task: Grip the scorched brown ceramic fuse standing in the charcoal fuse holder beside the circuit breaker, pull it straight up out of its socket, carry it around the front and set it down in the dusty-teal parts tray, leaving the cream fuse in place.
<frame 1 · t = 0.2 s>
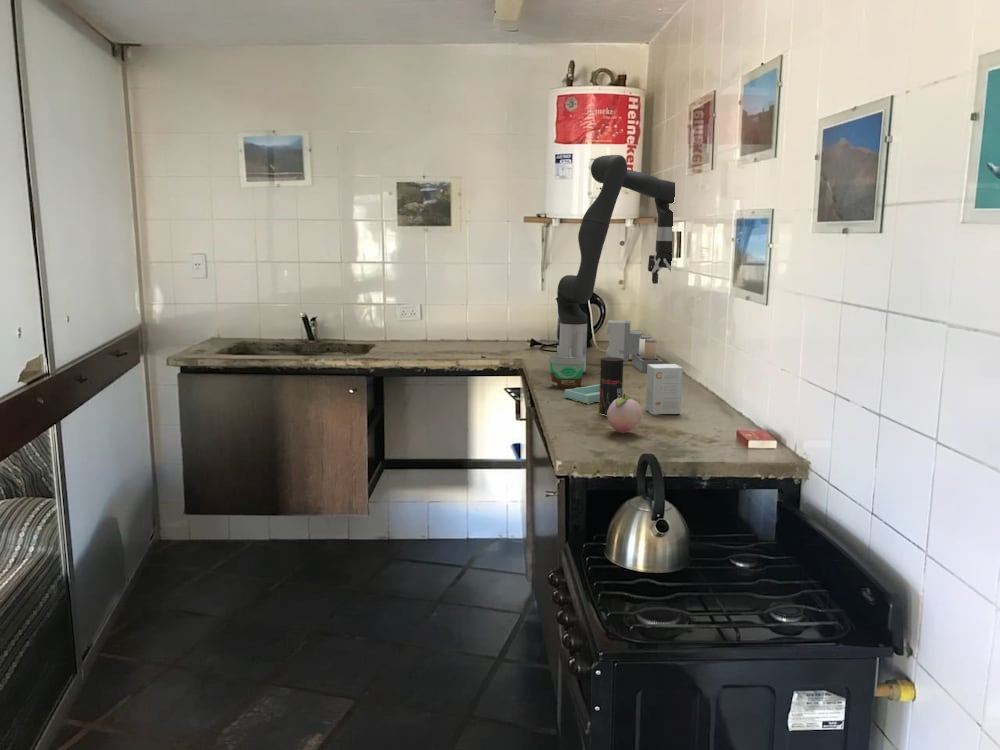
hand: (664, 284, 295), 29 cm above the counter, tool pointing down, fingers open, 8 cm apart
fuse holder: (646, 371, 279), on the counter
food container: (569, 388, 250), on the counter
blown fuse: (649, 370, 275), point 1 cm above the counter, touching fuse holder
decorative fruit: (623, 434, 195), on the counter
deodorant: (610, 414, 215), on the counter
small box: (662, 413, 217), on the counter
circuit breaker: (625, 362, 298), on the counter
parts tray: (593, 398, 234), on the counter
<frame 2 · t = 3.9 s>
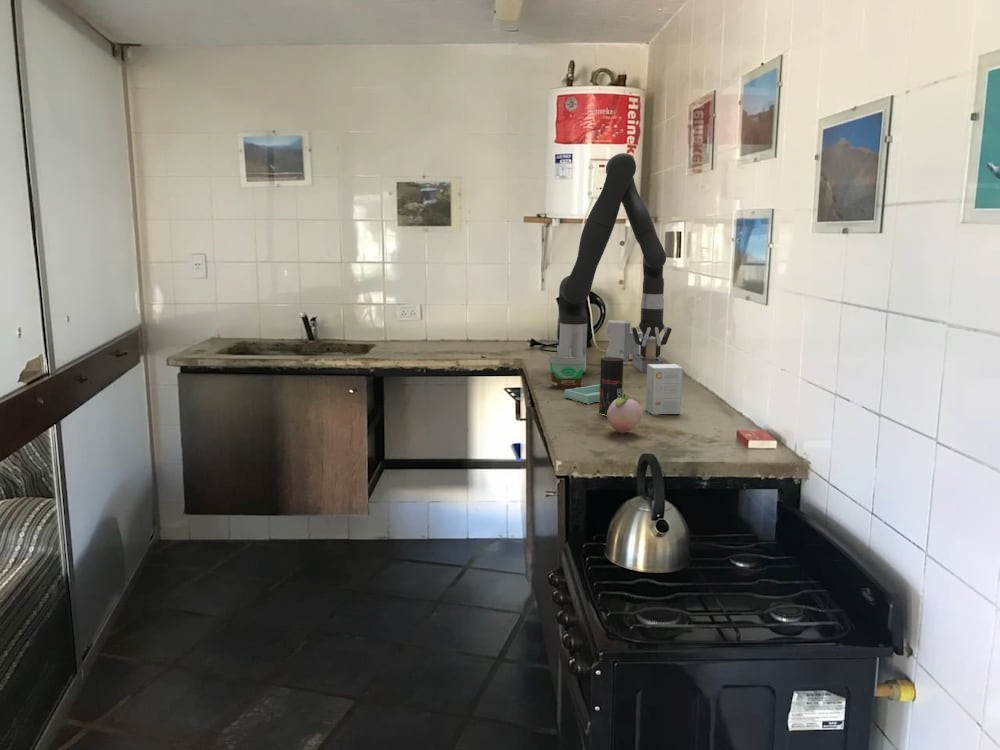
hand: (650, 356, 274), 6 cm above the counter, tool pointing down, fingers closed on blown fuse, 4 cm apart
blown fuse: (649, 370, 275), point 1 cm above the counter, touching fuse holder, gripper
everything else where it was.
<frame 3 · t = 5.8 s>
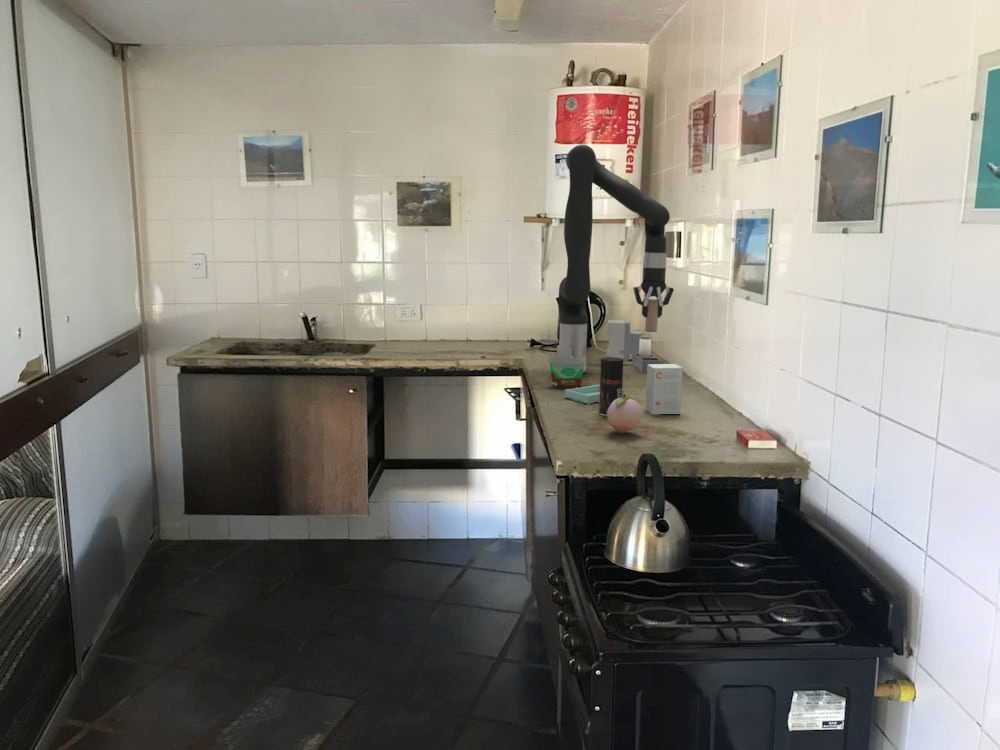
hand: (651, 317, 271), 19 cm above the counter, tool pointing down, fingers closed on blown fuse, 4 cm apart
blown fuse: (650, 331, 272), point 15 cm above the counter, touching gripper
everything else where it was.
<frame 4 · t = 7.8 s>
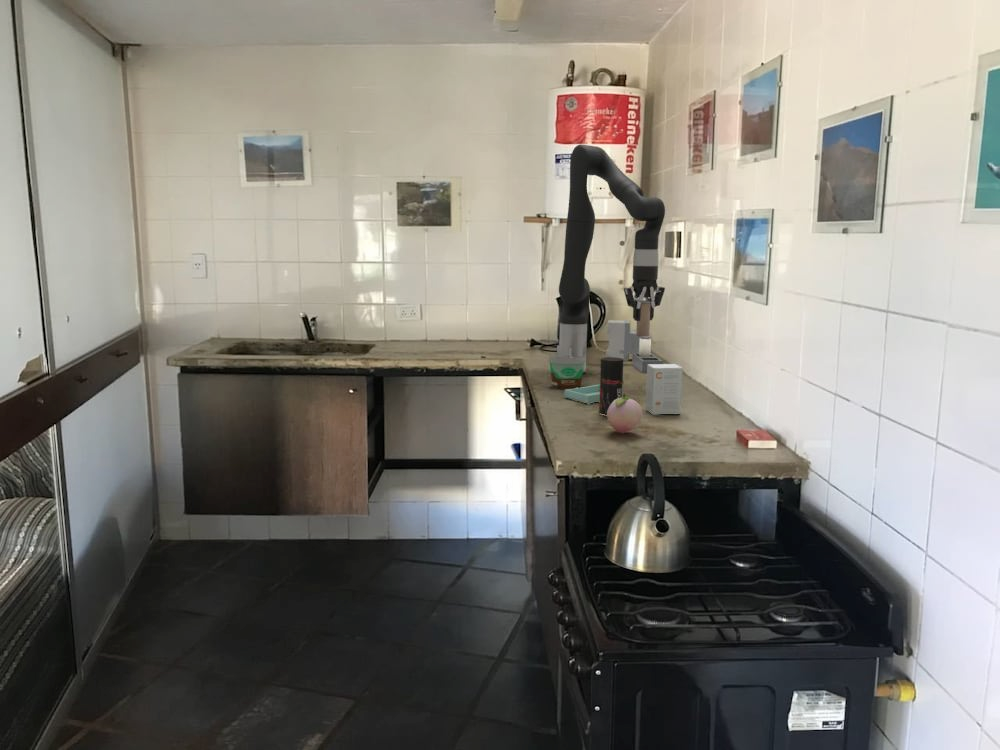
hand: (643, 320, 247), 21 cm above the counter, tool pointing down, fingers closed on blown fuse, 4 cm apart
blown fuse: (642, 335, 248), point 16 cm above the counter, touching gripper
everything else where it was.
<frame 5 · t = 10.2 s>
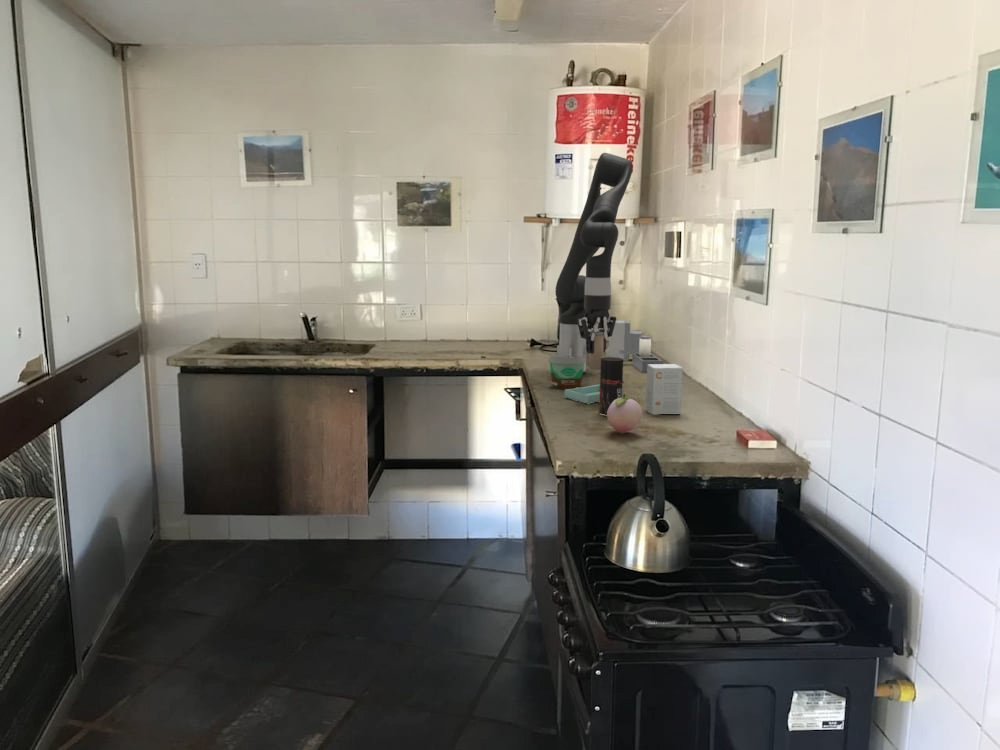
hand: (596, 352, 232), 14 cm above the counter, tool pointing down, fingers closed on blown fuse, 4 cm apart
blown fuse: (595, 368, 233), point 9 cm above the counter, touching gripper
everything else where it was.
when the fingers open (7 cm above the counter, at t = 12.0 s): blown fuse drops 1 cm, resting on parts tray.
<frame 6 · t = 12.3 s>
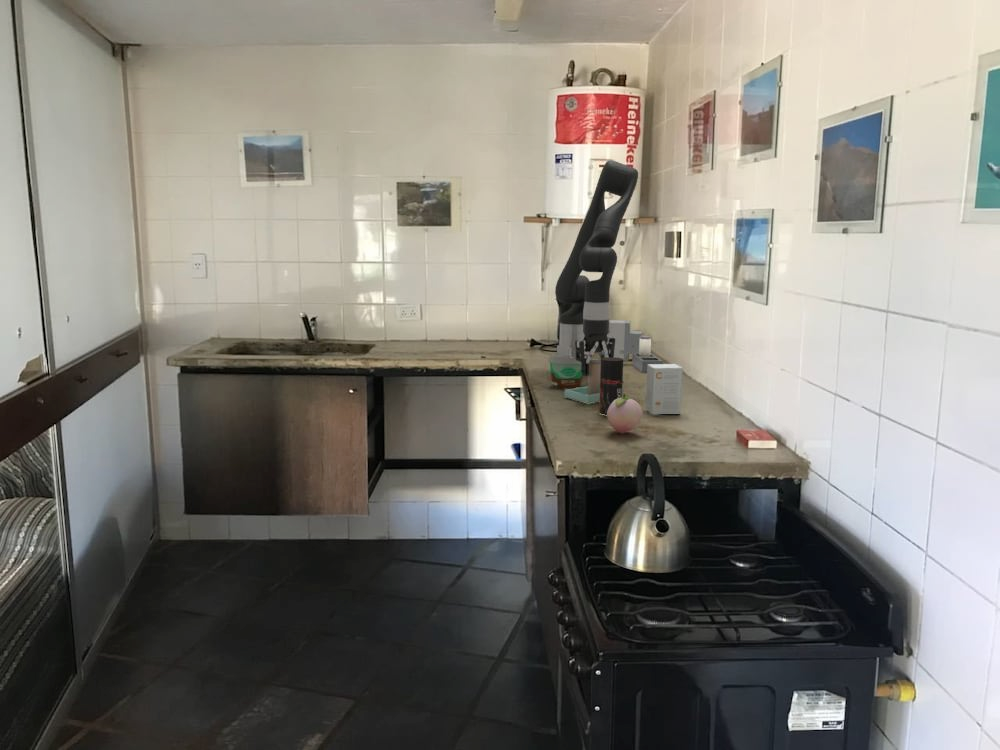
hand: (594, 374, 233), 7 cm above the counter, tool pointing down, fingers open, 6 cm apart
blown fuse: (593, 396, 234), point 1 cm above the counter, touching parts tray
everything else where it was.
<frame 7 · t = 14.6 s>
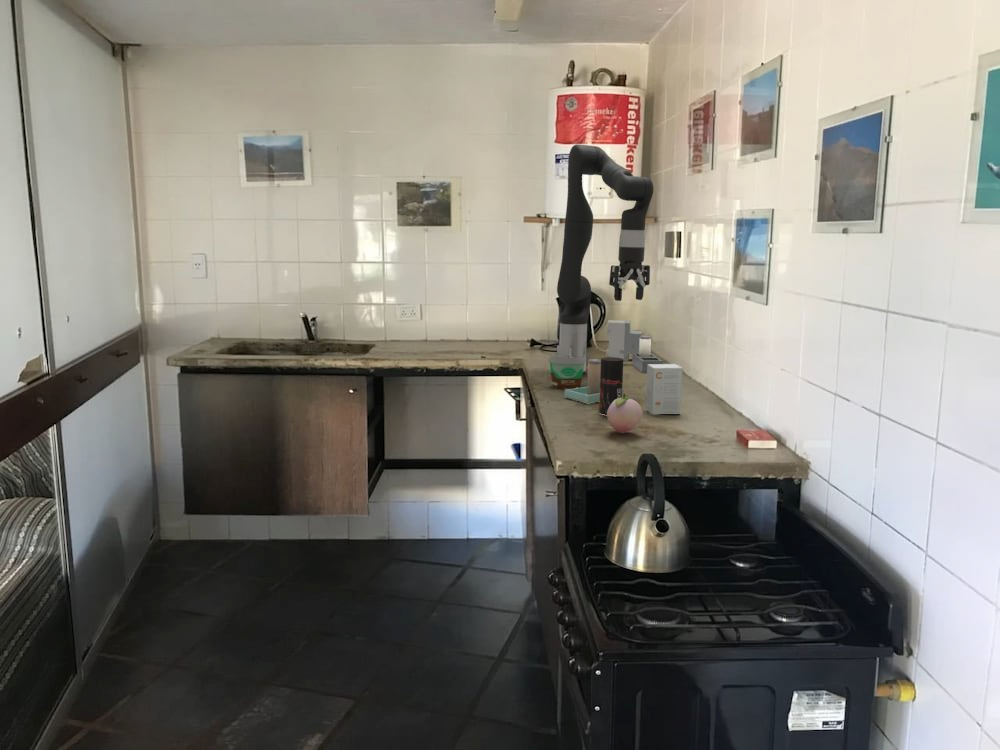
hand: (628, 300, 240), 28 cm above the counter, tool pointing down, fingers open, 8 cm apart
nothing on the counter moved.
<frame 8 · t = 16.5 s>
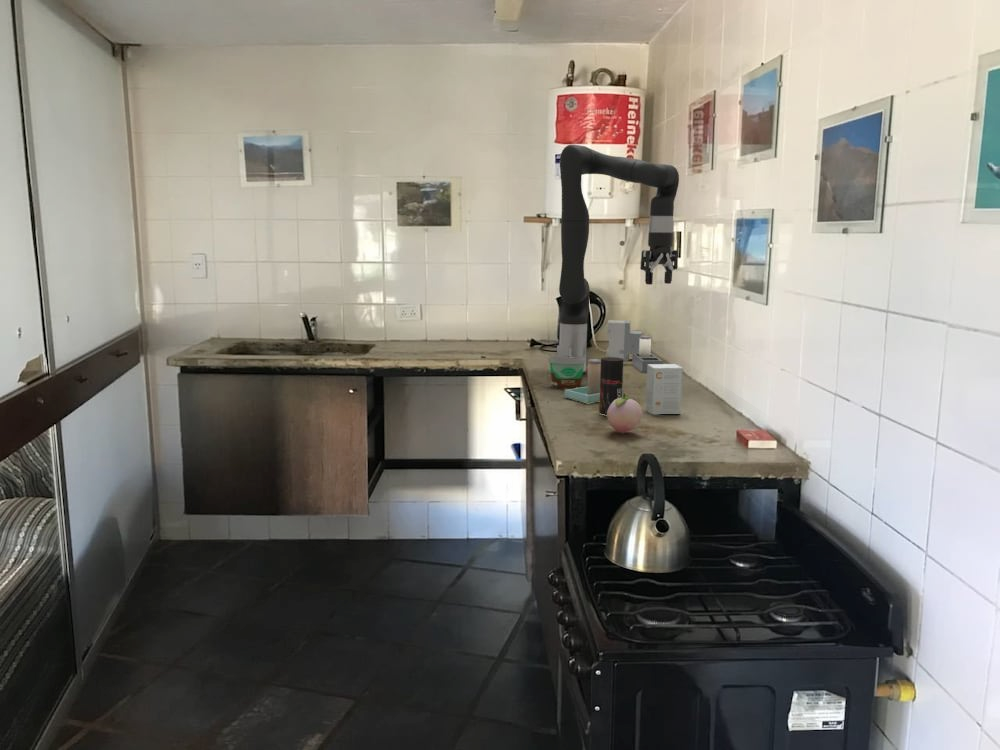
hand: (658, 283, 249), 32 cm above the counter, tool pointing down, fingers open, 8 cm apart
nothing on the counter moved.
at the end: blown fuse inside the target area on the parts tray (0.1 cm from its centre), point 0.6 cm above the parts tray's base; the gripper is holding nothing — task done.
